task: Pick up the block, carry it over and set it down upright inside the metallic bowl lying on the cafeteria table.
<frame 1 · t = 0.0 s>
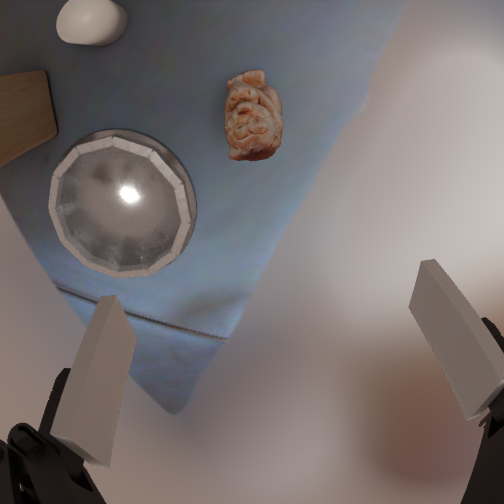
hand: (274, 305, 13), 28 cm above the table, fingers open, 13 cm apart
white domed cylinder: (105, 24, 26), on the table
block: (28, 112, 30), on the table
metallic bowl: (118, 207, 39), on the table
figurine: (248, 103, 33), on the table
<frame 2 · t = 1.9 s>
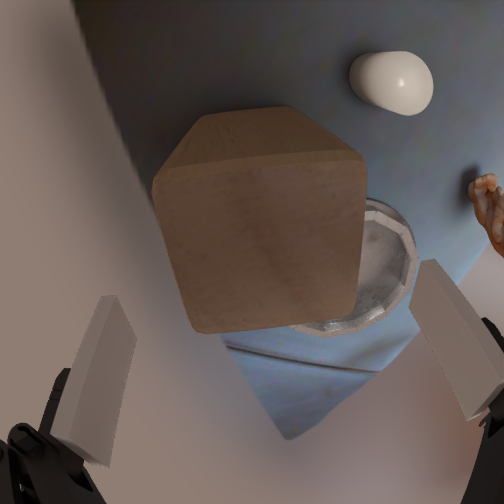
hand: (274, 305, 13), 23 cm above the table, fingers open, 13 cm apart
white domed cylinder: (374, 78, 27), on the table
block: (250, 153, 32), on the table
metallic bowl: (343, 272, 41), on the table
figurine: (467, 191, 35), on the table
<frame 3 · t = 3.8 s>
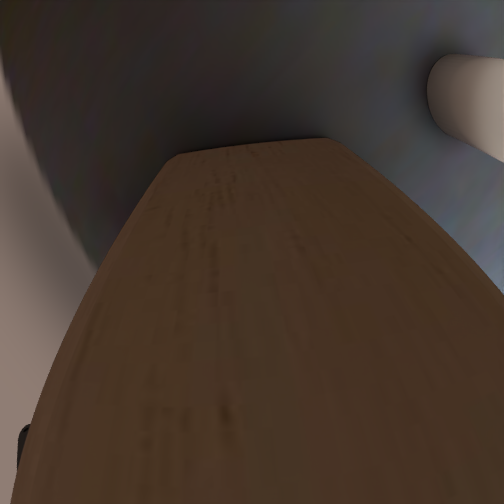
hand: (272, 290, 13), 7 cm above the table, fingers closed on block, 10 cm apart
white domed cylinder: (460, 96, 15), on the table
block: (260, 217, 19), on the table, touching gripper
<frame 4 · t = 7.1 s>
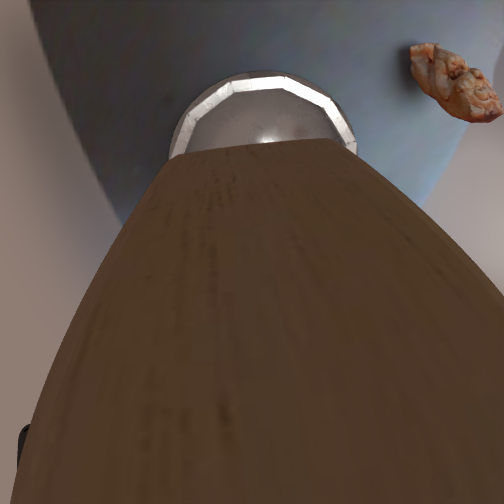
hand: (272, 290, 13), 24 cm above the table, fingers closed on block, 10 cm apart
block: (259, 217, 19), point 17 cm above the table, touching gripper
metallic bowl: (264, 164, 35), on the table
figurine: (411, 73, 28), on the table
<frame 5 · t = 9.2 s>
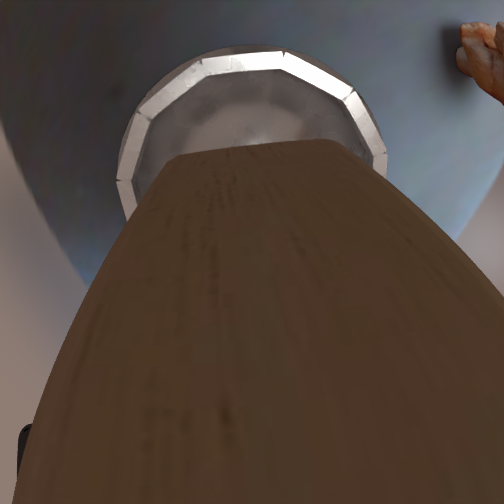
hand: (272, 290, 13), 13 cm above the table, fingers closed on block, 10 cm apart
block: (260, 218, 19), point 6 cm above the table, touching gripper
metallic bowl: (254, 183, 24), on the table
figurine: (456, 62, 18), on the table
when the fingers open (9 cm above the table, at t = 10.7 s): block drops 1 cm, resting on metallic bowl.
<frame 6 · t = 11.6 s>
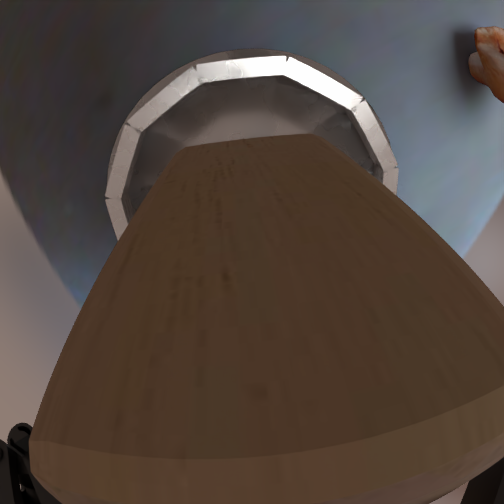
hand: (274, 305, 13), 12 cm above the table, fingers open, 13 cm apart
block: (255, 202, 22), point 1 cm above the table, touching metallic bowl
metallic bowl: (254, 200, 23), on the table
figurine: (468, 68, 17), on the table
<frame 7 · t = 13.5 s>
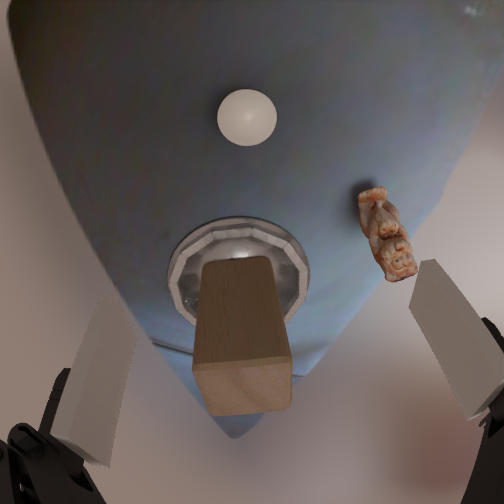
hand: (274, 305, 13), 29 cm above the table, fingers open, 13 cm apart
white domed cylinder: (244, 112, 35), on the table
block: (239, 283, 47), point 1 cm above the table, touching metallic bowl
metallic bowl: (238, 281, 48), on the table
figurine: (361, 204, 43), on the table
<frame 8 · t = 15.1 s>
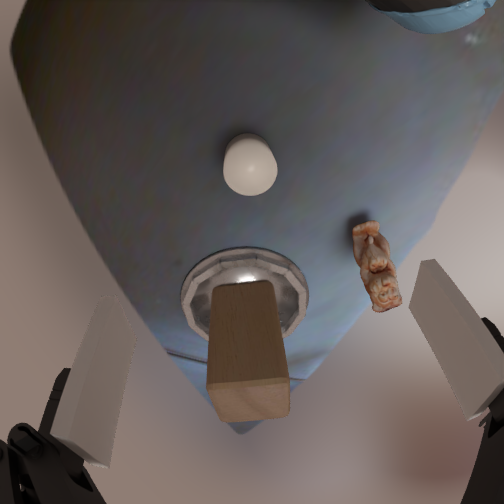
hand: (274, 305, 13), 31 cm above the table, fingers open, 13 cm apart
white domed cylinder: (247, 155, 39), on the table
block: (245, 303, 52), point 1 cm above the table, touching metallic bowl
metallic bowl: (245, 301, 53), on the table
figurine: (357, 233, 47), on the table
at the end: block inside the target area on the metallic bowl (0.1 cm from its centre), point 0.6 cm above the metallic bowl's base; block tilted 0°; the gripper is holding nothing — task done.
